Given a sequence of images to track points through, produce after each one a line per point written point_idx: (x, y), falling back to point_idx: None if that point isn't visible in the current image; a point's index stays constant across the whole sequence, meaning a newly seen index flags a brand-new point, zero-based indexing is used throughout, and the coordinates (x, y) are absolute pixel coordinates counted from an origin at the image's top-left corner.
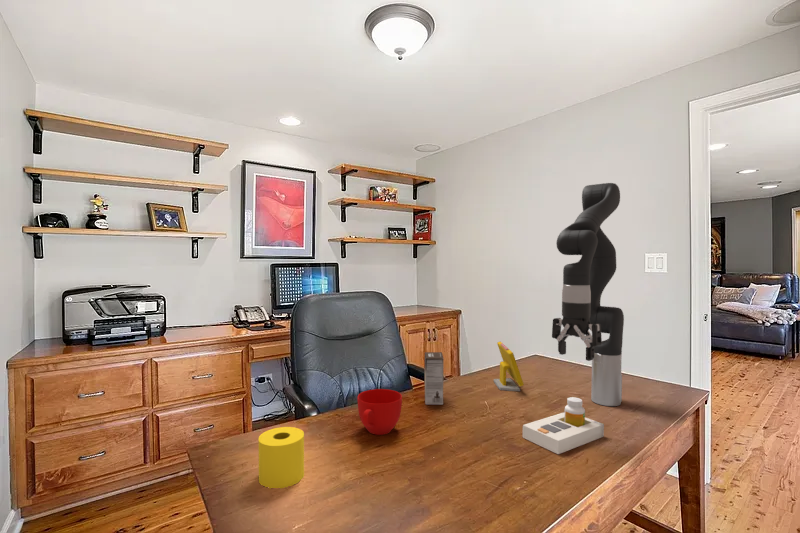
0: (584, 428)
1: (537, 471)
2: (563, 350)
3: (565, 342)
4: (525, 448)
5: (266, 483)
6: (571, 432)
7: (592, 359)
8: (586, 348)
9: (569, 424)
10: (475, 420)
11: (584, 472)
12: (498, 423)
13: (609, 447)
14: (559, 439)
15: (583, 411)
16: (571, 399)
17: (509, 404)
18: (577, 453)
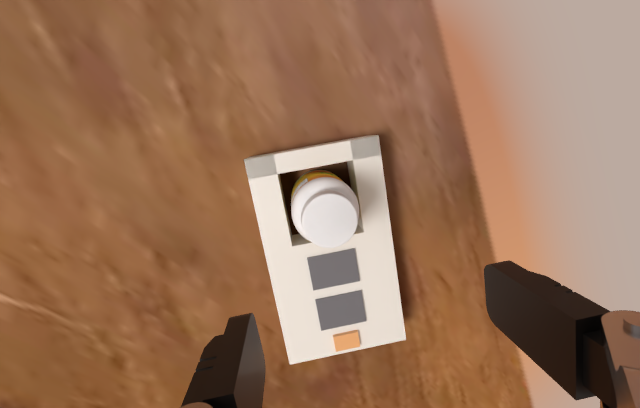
0: (377, 219)
1: (430, 401)
2: (256, 362)
3: (238, 395)
4: (341, 368)
5: None
6: (382, 274)
7: (505, 261)
8: (572, 389)
9: None
10: (146, 396)
11: (475, 321)
12: (186, 350)
13: (421, 177)
14: (401, 332)
15: (358, 203)
16: (325, 234)
17: (42, 232)
18: (410, 276)
